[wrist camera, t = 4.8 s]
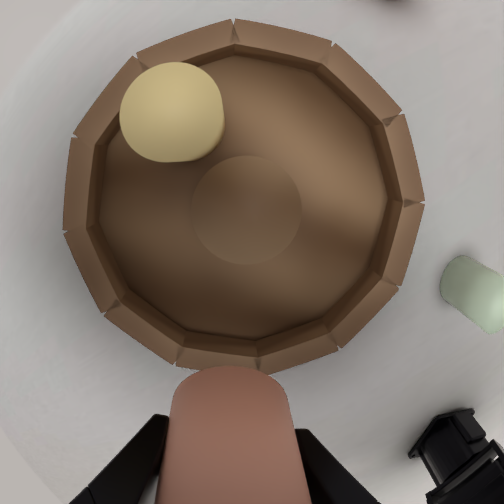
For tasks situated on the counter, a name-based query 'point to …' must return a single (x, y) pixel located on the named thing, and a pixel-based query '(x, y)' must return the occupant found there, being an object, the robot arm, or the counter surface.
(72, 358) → the counter surface
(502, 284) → the bead sage
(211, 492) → the bead coral
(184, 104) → the bead mustard
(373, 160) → the groove tray
